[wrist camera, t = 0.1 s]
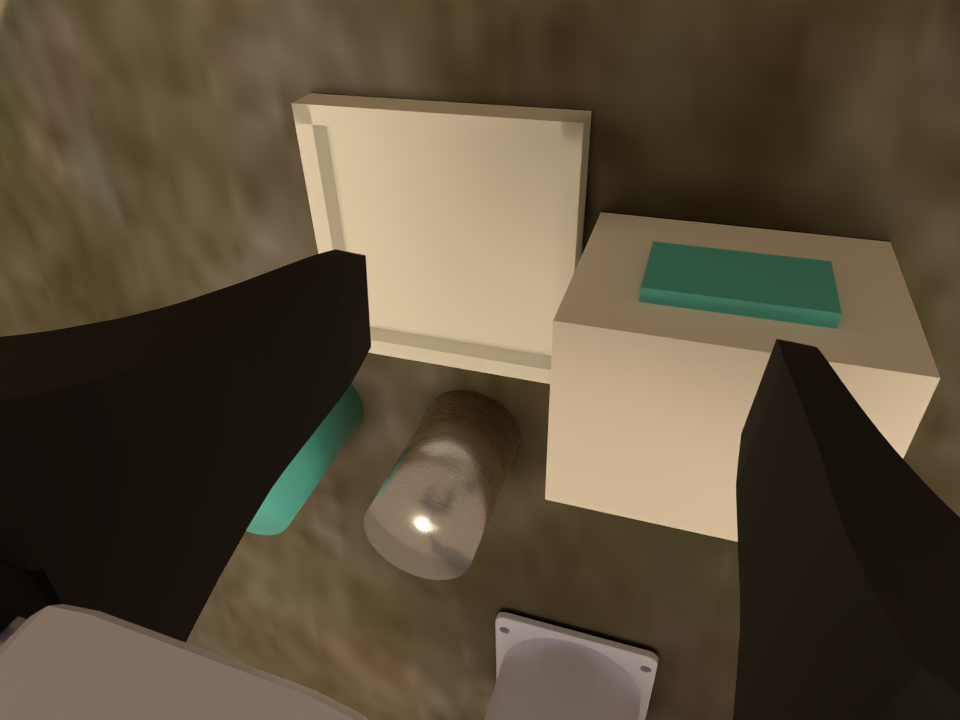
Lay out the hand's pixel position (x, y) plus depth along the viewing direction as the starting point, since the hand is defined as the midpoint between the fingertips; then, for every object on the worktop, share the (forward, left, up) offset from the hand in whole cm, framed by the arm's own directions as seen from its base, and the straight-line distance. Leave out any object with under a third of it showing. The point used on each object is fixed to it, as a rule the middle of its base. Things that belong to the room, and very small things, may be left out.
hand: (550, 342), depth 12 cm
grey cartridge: (-12, +5, -10) cm, 16 cm away
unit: (-5, -3, -10) cm, 12 cm away
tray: (-3, +6, -10) cm, 12 cm away
